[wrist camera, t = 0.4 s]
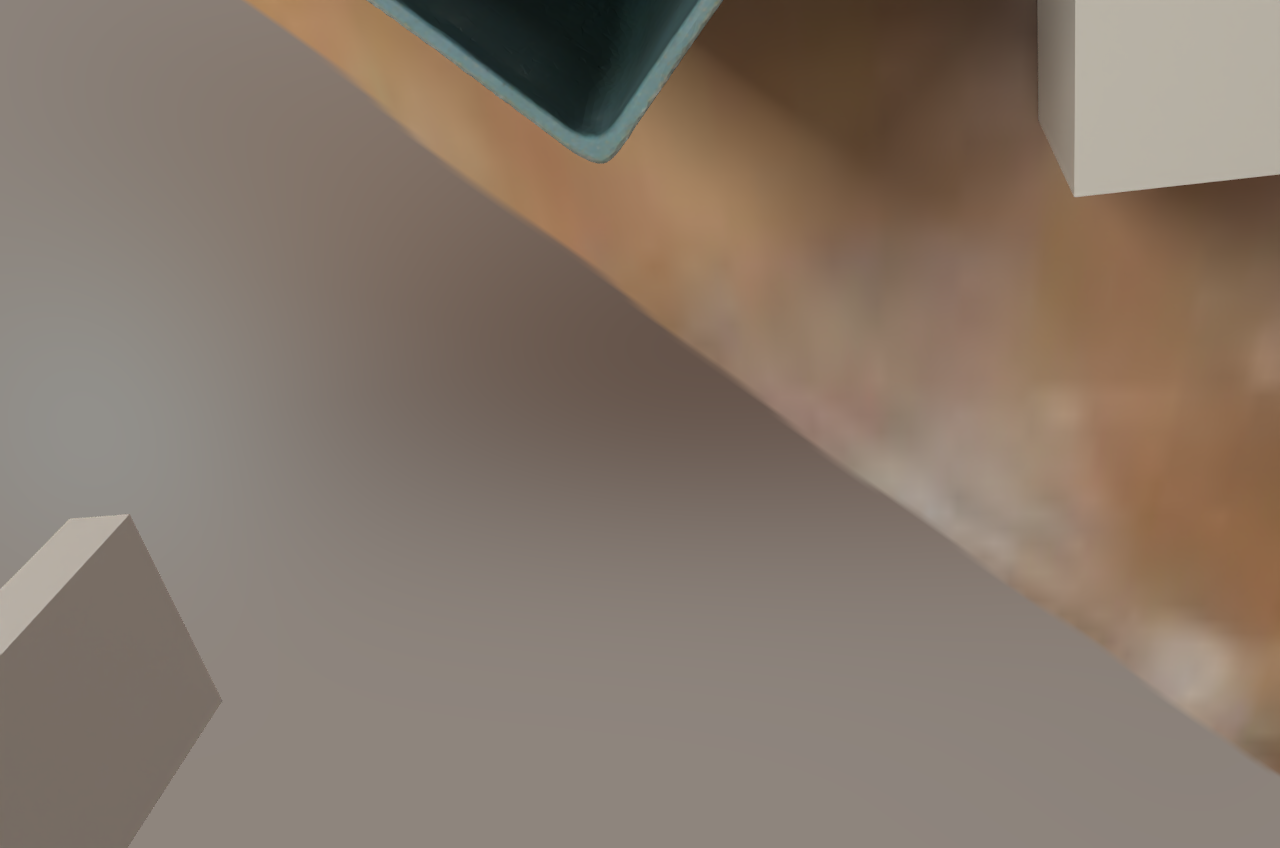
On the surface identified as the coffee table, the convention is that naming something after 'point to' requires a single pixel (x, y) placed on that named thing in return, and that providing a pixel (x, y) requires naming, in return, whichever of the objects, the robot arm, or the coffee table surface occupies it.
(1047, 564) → the coffee table surface
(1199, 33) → the stone slab
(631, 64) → the flower pot
